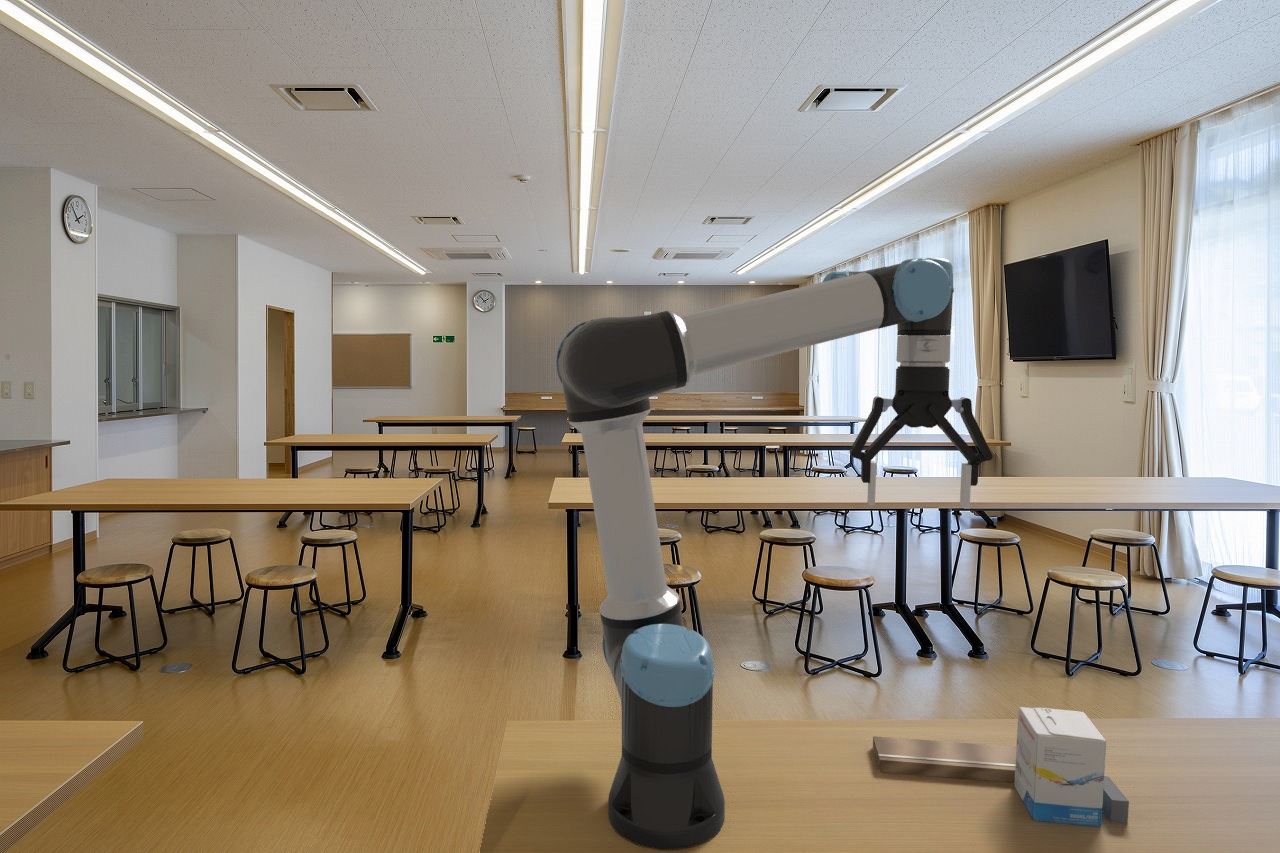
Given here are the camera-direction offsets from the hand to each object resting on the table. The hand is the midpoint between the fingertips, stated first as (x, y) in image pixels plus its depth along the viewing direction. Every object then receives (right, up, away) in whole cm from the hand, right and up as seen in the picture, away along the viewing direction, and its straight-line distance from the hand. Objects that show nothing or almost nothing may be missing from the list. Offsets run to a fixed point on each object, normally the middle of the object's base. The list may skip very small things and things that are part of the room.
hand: (917, 505), depth 120 cm
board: (+6, -37, -5) cm, 38 cm away
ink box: (+13, -39, -15) cm, 43 cm away
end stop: (+20, -38, -16) cm, 46 cm away
